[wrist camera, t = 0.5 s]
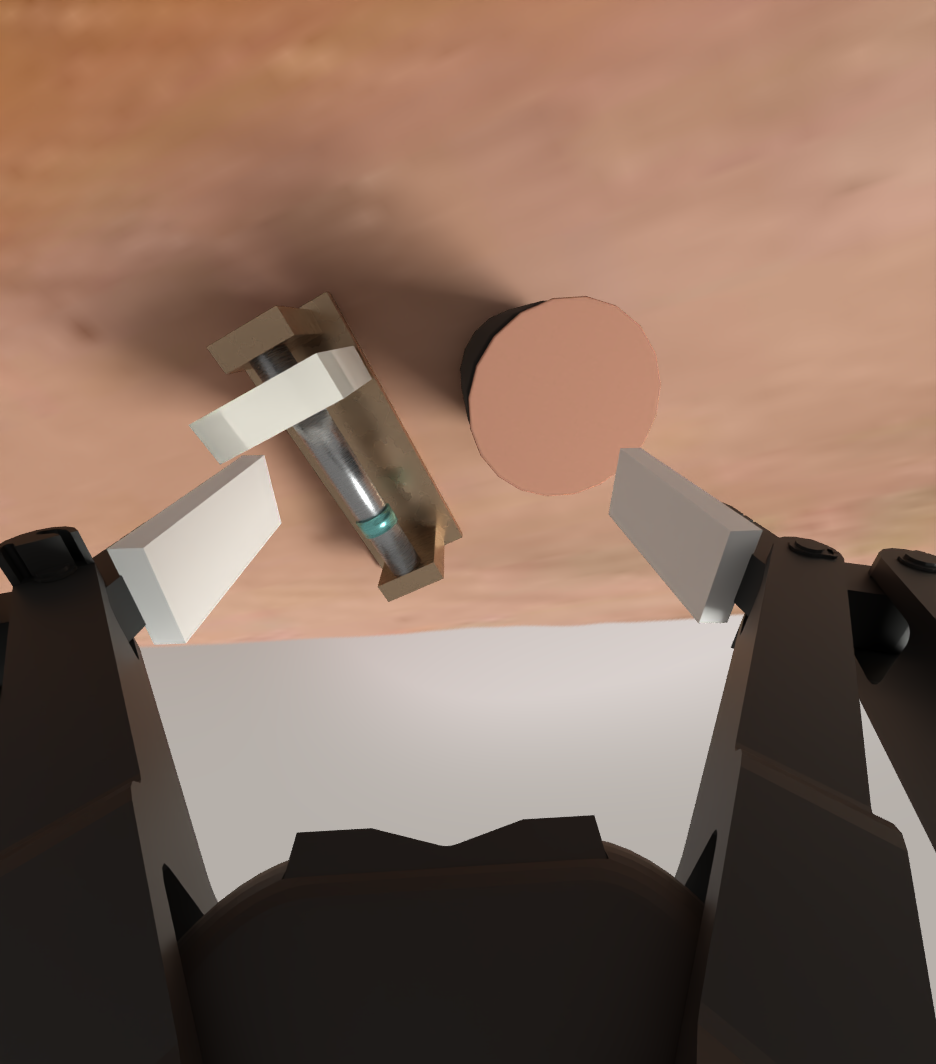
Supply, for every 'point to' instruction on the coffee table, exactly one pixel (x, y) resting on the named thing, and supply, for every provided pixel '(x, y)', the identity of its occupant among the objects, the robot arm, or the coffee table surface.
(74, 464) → the coffee table surface
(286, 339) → the rail
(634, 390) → the coffee jar
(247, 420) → the collar
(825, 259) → the coffee table surface
